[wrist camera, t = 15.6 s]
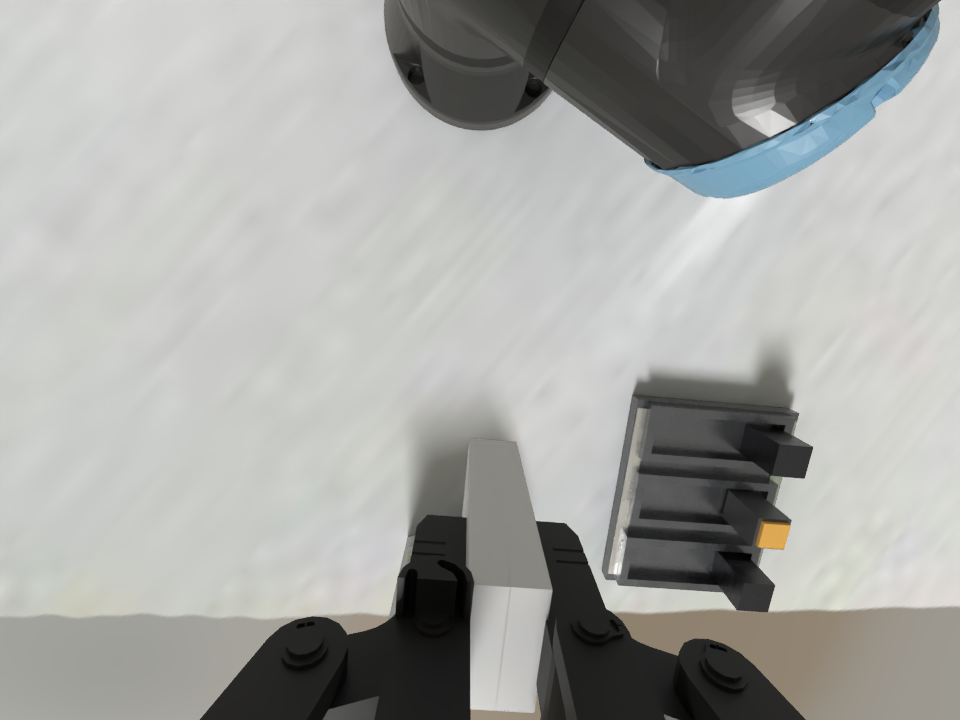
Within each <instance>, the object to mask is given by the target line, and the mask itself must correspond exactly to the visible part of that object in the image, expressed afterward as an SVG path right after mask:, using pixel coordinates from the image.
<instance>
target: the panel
mask: <svg viewBox="0 0 960 720" xmlns="http://www.w3.org/2000/svg"><path fill="white" fill-rule="evenodd" d="M798 416H799V413H797V412H795V411H793V410H791V409H789V408H780V407H768V406H756V405H744V404H733V403H721V402H709V401H697V400H685V399H674V398H662V397H650V396H638V395H632V401H631V407H630V412H629V418H628V424H627V429H626V435H625V441H624V446H623V452H622V458H621V463H620V469H619V475H618V480H617V486H616V492H615V497H614V503H613V509H612V515H611V520H610V526H609V532H608V537H607V543H606V549H605V554H604V560H603V566H602V572H603V574H604V577H605V579H606V580H616V581H617V583H618V585H621V586H636V587H651V588H666V589H681V590H696V591H710V592H724V594H725V595H726V596H727V598H728V599H729V600H730V602H731V603H732V604H733V605H734V607H735V608H736V609H737V610H741V611H756V612H768V609H769V605H770V602H771V598H772V595H773V591H774V587H775V585H774V584H773V582H772V581H771V580H770V579H769V578H768V577H767V576H766V575H765V574H764V573H763V572H762V571H761V569H760V568H759V564H760V560H761V556H762V552H763V548H754V547H751V546H750V545H749V544H748V543H747V542H746V541H745V540H744V539H743V538H742V537H741V536H740V535H739V534H738V533H737V532H736V531H735V530H734V529H733V528H732V527H731V525H730V524H729V523H728V522H727V521H726V520H725V519H724V518H723V517H722V514H723V510H724V506H725V501H726V497H727V493H728V490H736V491H749V492H758V493H759V494H760V495H761V496H763V497H764V498H765V499H766V500H767V501H769V502H770V503H771V504H772V505H773V506H775V503H776V499H777V495H778V491H779V488H780V484H781V480H782V477H792V478H805V475H806V471H807V468H808V464H809V460H810V457H811V453H812V450H813V447H812V446H810V445H809V444H807V443H805V442H803V441H801V440H800V439H798V438H796V437H794V436H793V435H794V431H795V427H796V423H797V419H798Z"/></svg>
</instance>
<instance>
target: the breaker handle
mask: <svg viewBox="0 0 960 720" xmlns="http://www.w3.org/2000/svg"><path fill="white" fill-rule="evenodd" d="M722 517H723V518H724V519H725V520H726V521H727V522H728V523H729V524H730V525H731V527H732V528H733V529H734V530H735V531H736V532H737V533H738V534H739V535H740V536H741V537H742V538H743V539H744V540H745V541H746V542H747V543H748V544H749V545H750V546H751V547H754V548H768V549H782V550H783V549H784V547H785V544H786V540H787V537H788V533H789V529H790V524H791V520H790V519H789V518H788V517H787V516H786V515H784V514H783V513H782V512H781V511H780V510H778V509H777V508H776V507H775V506H773V505H772V504H771V503H770V502H769V501H767V500H766V499H765V498H764V497H763V496H761V495H760V494H759V493H758V492H749V491H736V490H728V493H727V497H726V501H725V506H724V510H723V514H722Z"/></svg>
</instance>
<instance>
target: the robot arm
mask: <svg viewBox="0 0 960 720" xmlns="http://www.w3.org/2000/svg"><path fill="white" fill-rule="evenodd" d="M940 1H941V0H385V2H384V20H385V31H386V37H387V42H388V46H389V49H390V52H391V55H392V58H393V61H394V63H395V66H396V68H397V71H398V73H399V75H400V77H401V79H402V81H403V83H404V85H405V86H406V88H407V89H408V91H409V92H410V93H411V95H412V96H413V97H414V98H415V100H416V101H417V102H418V103H419V104H420V105H421V106H422V107H423V108H424V109H426V110H427V111H428V112H429V113H431V114H432V115H433V116H435V117H437V118H438V119H440V120H442V121H444V122H446V123H448V124H450V125H453V126H456V127H459V128H463V129H469V130H493V129H498V128H502V127H505V126H508V125H511V124H513V123H515V122H518V121H519V120H521V119H523V118H525V117H526V116H528V115H529V114H530V113H532V112H533V111H534V110H535V109H537V108H538V107H539V106H540V105H541V104H542V103H543V102H544V101H545V99H546V98H547V97H548V96H549V94H550V93H551V92H552V90H553V91H554V92H556V93H557V94H558V95H560V96H561V97H563V98H564V99H565V100H567V101H568V102H569V103H571V104H572V105H573V106H575V107H576V108H577V109H579V110H580V111H581V112H583V113H584V114H586V115H587V116H588V117H590V118H591V119H592V120H594V121H595V122H596V123H598V124H599V125H600V126H602V127H603V128H604V129H606V130H607V131H609V132H610V133H611V134H613V135H614V136H615V137H617V138H618V139H619V140H621V141H622V142H623V143H625V144H626V145H627V146H629V147H630V148H632V149H633V150H634V151H636V152H637V153H638V154H640V155H641V156H642V157H644V162H645V163H646V164H647V165H648V166H649V167H650V168H651V169H653V170H654V171H656V172H659V173H662V174H665V175H669V176H670V177H672V178H673V179H675V180H676V181H678V182H679V183H681V184H682V185H684V186H685V187H687V188H688V189H690V190H691V191H693V192H695V193H696V194H698V195H701V196H705V197H714V198H734V197H739V196H743V195H747V194H751V193H754V192H757V191H760V190H762V189H765V188H768V187H770V186H772V185H775V184H777V183H779V182H781V181H783V180H785V179H787V178H789V177H791V176H792V175H794V174H796V173H798V172H800V171H801V170H803V169H805V168H807V167H808V166H810V165H812V164H813V163H815V162H816V161H818V160H819V159H821V158H822V157H824V156H825V155H827V154H828V153H830V152H831V151H833V150H834V149H836V148H837V147H838V146H840V145H841V144H842V143H844V142H845V141H847V140H848V139H849V138H850V137H852V136H853V135H854V134H855V133H856V132H858V131H859V130H860V129H861V128H862V127H864V126H865V125H866V124H867V123H868V122H869V121H871V120H872V119H873V118H874V117H875V112H876V111H875V107H877V106H878V105H880V104H881V103H883V102H885V101H887V100H889V99H891V98H893V97H894V96H896V95H898V94H899V93H900V92H901V91H902V90H903V89H904V88H905V87H906V85H907V84H908V83H909V82H910V81H911V80H912V79H913V77H914V76H915V75H916V74H917V73H918V71H919V70H920V68H921V67H922V65H923V64H924V63H925V61H926V59H927V58H928V56H929V54H930V52H931V50H932V48H933V47H934V45H935V43H936V41H937V38H938V34H939V29H940V21H939V17H938V15H939V5H938V2H940ZM537 692H538V698H539V705H540V711H541V720H805V719H804V718H803V716H802V715H801V714H800V713H799V712H798V711H797V710H796V709H795V708H794V707H793V706H792V705H791V704H790V703H789V702H788V701H787V700H786V699H785V697H784V696H783V695H782V694H781V693H780V692H779V691H778V690H777V689H776V688H775V687H774V686H773V685H772V684H771V683H770V682H769V680H768V679H767V678H766V677H765V676H764V675H763V674H762V673H761V672H760V671H759V670H758V669H757V668H756V667H755V666H754V665H753V664H752V663H751V662H750V661H748V660H747V659H746V658H745V657H744V656H743V655H742V654H740V653H739V652H737V651H735V650H734V649H732V648H730V647H728V646H726V645H725V644H722V643H719V642H716V641H713V640H709V639H693V640H690V641H688V642H685V643H684V644H683V646H682V648H681V650H680V651H679V655H678V656H676V655H673V654H670V653H667V652H664V651H661V650H658V649H654V648H652V647H649V646H647V645H644V644H642V643H640V642H637V641H636V640H634V639H632V638H631V635H630V633H629V631H628V630H627V628H626V626H625V625H624V623H623V622H622V621H621V620H620V619H619V618H618V617H617V616H615V615H614V614H613V613H612V612H611V611H609V610H607V609H606V608H605V605H604V603H603V600H602V597H601V595H600V592H599V590H598V587H597V584H596V582H595V579H594V576H593V574H592V571H591V569H590V566H589V565H588V561H587V558H586V556H585V553H583V548H582V545H581V543H580V540H579V537H578V536H577V535H576V534H575V533H574V532H573V531H572V530H571V529H570V528H569V527H568V526H567V525H566V524H565V523H554V522H540V521H536V520H535V516H534V512H533V508H532V504H531V500H530V496H529V492H528V488H527V484H526V479H525V475H524V471H523V467H522V463H521V459H520V455H519V451H518V447H517V443H516V442H512V441H500V440H487V439H475V438H469V448H468V458H467V469H466V479H465V490H464V501H463V511H462V517H451V516H437V515H427V516H426V517H425V518H424V519H423V520H422V521H421V522H420V523H419V525H418V526H417V529H416V534H415V539H414V544H413V549H412V555H411V559H410V562H409V563H408V564H407V565H405V566H404V567H403V568H402V570H401V572H400V574H399V576H398V579H397V596H396V612H395V615H394V616H393V617H391V618H390V619H389V620H388V621H387V622H385V623H384V624H382V625H380V626H378V627H376V628H373V629H370V630H367V631H363V632H358V633H354V634H349V635H347V633H346V632H345V631H344V630H343V628H342V627H341V625H340V624H339V623H337V622H335V621H333V620H331V619H329V618H323V617H313V616H312V617H307V618H302V619H297V620H295V621H292V622H290V623H288V624H286V625H284V626H282V627H281V628H279V630H277V631H276V632H275V633H274V634H273V635H272V636H270V637H269V638H268V639H267V640H266V642H265V643H264V644H263V645H262V646H261V648H260V649H259V650H258V651H257V652H256V653H255V655H254V656H253V657H252V658H251V659H250V661H249V662H248V663H247V664H246V665H245V667H244V668H243V669H242V670H241V671H240V672H239V674H238V675H237V676H236V677H235V678H234V680H233V681H232V682H231V683H230V684H229V686H228V687H227V688H226V689H225V690H224V692H223V693H222V694H221V695H220V697H218V699H217V700H216V701H215V702H214V704H213V705H212V706H211V707H210V708H209V709H208V711H207V712H206V713H205V714H204V715H203V717H202V718H201V719H200V720H470V709H475V710H493V711H512V712H530V713H534V711H535V704H536V697H537Z"/></svg>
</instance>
